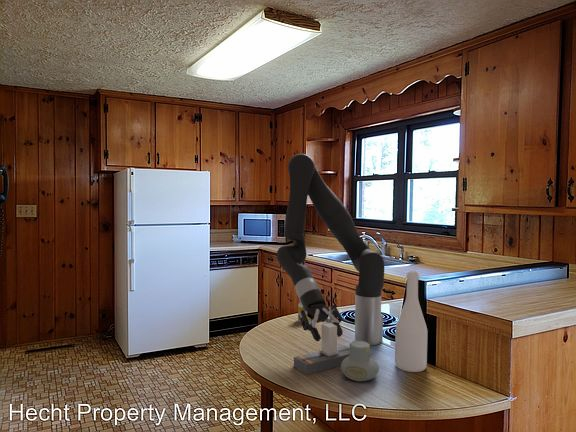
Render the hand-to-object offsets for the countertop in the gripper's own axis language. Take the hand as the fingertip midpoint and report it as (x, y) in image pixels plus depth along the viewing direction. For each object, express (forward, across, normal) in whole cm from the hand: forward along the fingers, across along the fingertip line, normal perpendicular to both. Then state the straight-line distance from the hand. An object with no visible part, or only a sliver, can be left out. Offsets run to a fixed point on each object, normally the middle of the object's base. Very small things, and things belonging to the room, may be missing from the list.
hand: (329, 337), depth 137 cm
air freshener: (+15, +2, -3) cm, 15 cm away
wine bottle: (+16, +20, -5) cm, 26 cm away
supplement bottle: (-23, +18, +35) cm, 46 cm away
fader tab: (+3, 0, +4) cm, 5 cm away
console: (+6, -1, +6) cm, 8 cm away
